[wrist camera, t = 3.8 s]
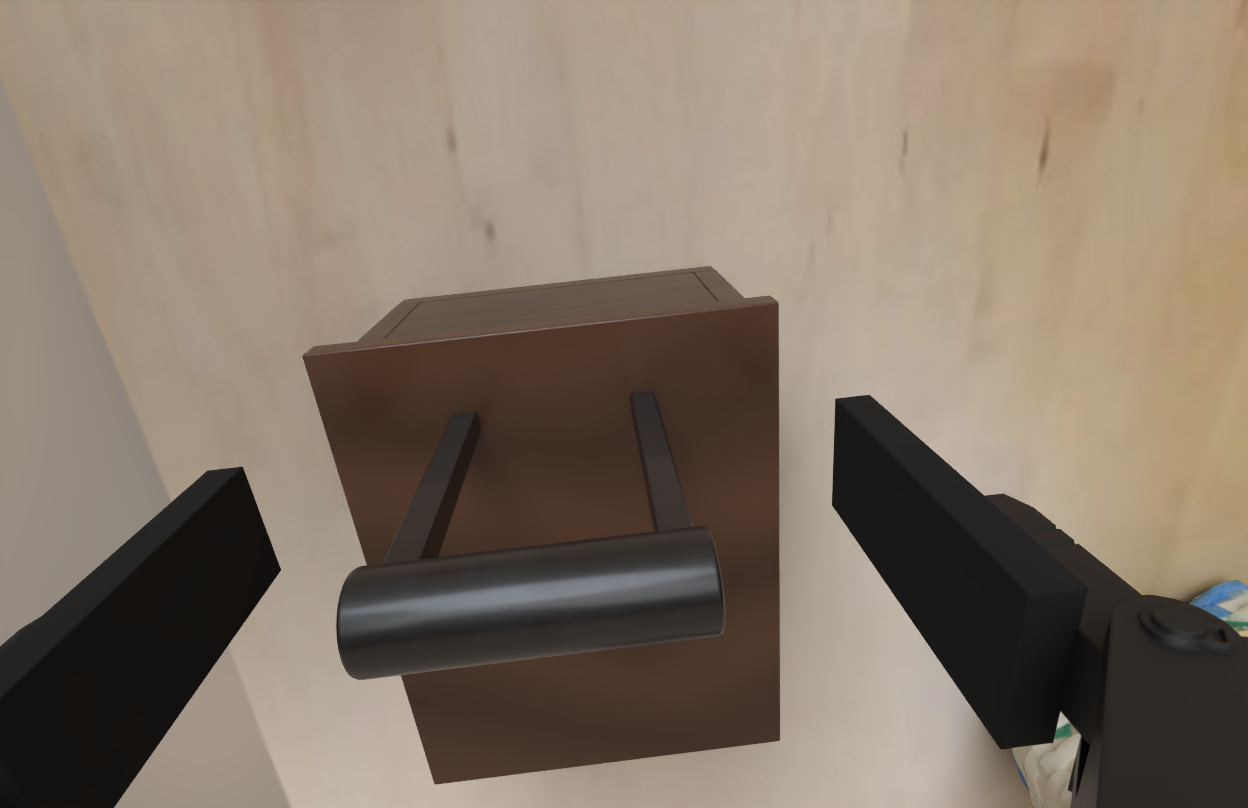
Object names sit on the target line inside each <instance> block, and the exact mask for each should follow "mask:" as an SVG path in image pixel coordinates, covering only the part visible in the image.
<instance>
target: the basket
mask: <svg viewBox="0 0 1248 808" xmlns="http://www.w3.org/2000/svg"><path fill="white" fill-rule="evenodd" d="M1189 604H1191V605H1194V606H1197V607H1199V608H1202V609H1203V610H1205V611H1207V612H1209V613H1211V614H1213V615H1214V616H1216V617H1218V618H1220V619H1222V620H1223V621H1225V622H1226V623H1227V624H1228V625H1229V626H1230V627H1232V628H1233V629H1234V630H1235V631H1236V632H1237V633H1239V634H1240V636H1244V637H1248V587H1247V586H1246V585H1245V584H1243V583H1242V582H1240V581H1237V580H1234V581H1226V582H1223V583H1220V584H1218V585H1215V586H1213V587H1212V588H1210V589H1208V590H1207V591H1205V592H1204V593H1202V594H1201V595H1198V596H1196V597H1194V598H1193V600H1192V601H1191V602H1190V603H1189ZM1080 737H1081V735H1080V734H1079V732H1078V731H1077V730H1076V729H1075V728H1074V726H1073V725H1072V724H1071V723H1070V722H1069V721H1068V719H1067V718H1066V717H1065V716H1064V715H1063V713H1062V712H1061V711H1060V715H1059V719H1058V724H1057V728H1056V733H1055V737H1054V742H1053V743H1048V744H1040V745H1032V746H1025V747H1017V748H1012V750H1013V754H1014V760H1015V763H1016V766H1017V768H1018V771H1019V774H1020V776H1021V779H1022V781H1023V783H1024V785H1025V786H1026V787H1027V789H1028V790H1029V791H1030V794H1031V803H1032V806H1033V808H1070V807H1071V798H1072V792H1070V791H1068V790H1067V789H1068V785H1069V781H1070V777H1071V773H1072V769H1073V765H1074V761H1075V757H1076V753H1077V749H1078V745H1079V741H1080Z"/></svg>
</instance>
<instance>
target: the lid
mask: <svg viewBox="0 0 1248 808" xmlns="http://www.w3.org/2000/svg"><path fill="white" fill-rule="evenodd" d="M303 360H304V363H305V366H306V370H307V373H308V376H309V379H310V382H311V386H312V389H313V392H314V395H315V399H316V402H317V405H318V408H319V412H320V415H321V418H322V421H323V425H324V428H325V431H326V434H327V438H328V441H329V444H330V447H331V450H332V454H333V457H334V460H335V463H336V467H337V470H338V473H339V476H340V480H341V483H342V486H343V489H344V493H345V496H346V499H347V502H348V505H349V509H350V512H351V515H352V518H353V522H354V525H355V528H356V531H357V535H358V538H359V541H360V544H361V548H362V551H363V554H364V557H365V560H366V564H367V566H360V567H358V568H356V569H354V570H353V571H352V572H351V573H350V574H349V575H348V577H347V578H346V580H345V582H344V585H343V587H342V590H341V594H340V598H339V603H338V609H337V624H336V628H337V643H338V649H339V654H340V658H341V661H342V664H343V666H344V668H345V670H346V672H347V673H348V674H349V675H350V676H351V677H353V678H355V679H358V680H366V679H374V678H382V677H390V676H398V675H401V677H402V680H403V683H404V687H405V690H406V693H407V696H408V700H409V703H410V706H411V709H412V713H413V716H414V719H415V722H416V725H417V729H418V732H419V735H420V738H421V742H422V745H423V748H424V751H425V755H426V758H427V761H428V764H429V768H430V771H431V774H432V777H433V780H434V784H443V783H451V782H459V781H467V780H475V779H483V778H490V777H498V776H506V775H514V774H522V773H530V772H538V771H546V770H554V769H561V768H569V767H577V766H585V765H593V764H601V763H609V762H617V761H625V760H633V759H640V758H648V757H656V756H664V755H672V754H680V753H688V752H696V751H704V750H711V749H719V748H727V747H735V746H743V745H751V744H759V743H767V742H775V741H780V594H779V303H778V302H777V301H776V300H775V299H774V298H773V297H771V296H762V297H753V298H744V299H735V300H726V301H717V302H709V303H700V304H691V305H682V306H673V307H664V308H655V309H646V310H637V311H628V312H619V313H610V314H601V315H592V316H583V317H574V318H565V319H556V320H547V321H539V322H530V323H521V324H512V325H503V326H494V327H485V328H476V329H467V330H458V331H449V332H440V333H431V334H422V335H413V336H404V337H395V338H386V339H377V340H369V341H360V342H351V343H342V344H333V345H324V346H315V347H313V348H311V349H310V350H309V351H307V352H306V353H305V354H304V355H303Z"/></svg>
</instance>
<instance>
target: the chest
mask: <svg viewBox="0 0 1248 808" xmlns="http://www.w3.org/2000/svg"><path fill="white" fill-rule="evenodd" d="M735 299H744V297H743V296H742V295H741V294H740V293H739V292H738V291H737V290H736V289H735V288H734V287H732V286H731V285H730V284H729V283H728V282H727V281H726V280H725V279H724V278H723V277H722V276H721V275H720V274H719V273H718V272H717V271H716V270H714V269H713V268H712V267H711V266H707V267H698V268H689V269H680V270H671V271H662V272H653V273H644V274H635V275H626V276H617V277H608V278H599V279H590V280H581V281H572V282H563V283H554V284H545V285H535V286H526V287H517V288H508V289H499V290H490V291H481V292H472V293H463V294H454V295H445V296H436V297H427V298H418V299H409V300H404V301H402V302H401V303H400V304H399V305H397V306H396V307H395V308H394V309H393V310H392V311H391V312H389V313H388V314H387V315H386V316H385V317H384V318H383V319H382V320H381V321H379V322H378V323H377V324H376V325H375V326H374V327H373V328H372V329H371V330H370V331H368V332H367V333H366V334H365V335H364V336H363V337H362V338H361V339H360V340H358V341H357V342H360V341H369V340H377V339H386V338H395V337H404V336H413V335H422V334H431V333H440V332H449V331H458V330H467V329H476V328H485V327H494V326H503V325H512V324H521V323H530V322H539V321H547V320H556V319H565V318H574V317H583V316H592V315H601V314H610V313H619V312H628V311H637V310H646V309H655V308H664V307H673V306H682V305H691V304H700V303H709V302H717V301H726V300H735Z"/></svg>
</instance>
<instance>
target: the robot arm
mask: <svg viewBox="0 0 1248 808" xmlns="http://www.w3.org/2000/svg"><path fill="white" fill-rule="evenodd" d="M832 506H833V507H834V509H835V510H836V511H837V513H838V514H839V516H840V517H841V519H842V520H843V522H844V523H845V525H846V526H847V527H848V529H849V530H850V532H851V533H852V535H853V536H854V538H855V539H856V540H857V542H858V543H859V545H860V546H861V548H862V549H863V551H864V552H865V554H866V555H867V556H868V558H869V559H870V561H871V562H872V564H873V565H874V567H875V568H876V569H877V571H878V572H879V574H880V575H881V577H882V578H883V580H884V581H885V583H886V584H887V585H888V587H889V588H890V590H891V591H892V593H893V594H894V596H895V597H896V599H897V600H898V601H899V603H900V604H901V606H902V607H903V609H904V610H905V612H906V613H907V614H908V616H909V617H910V619H911V620H912V622H913V623H914V625H915V626H916V628H917V629H918V630H919V632H920V633H921V635H922V636H923V638H924V639H925V641H926V642H927V643H928V645H929V646H930V648H931V649H932V651H933V652H934V654H935V655H936V657H937V658H938V659H939V661H940V662H941V664H942V665H943V667H944V668H945V670H946V671H947V672H948V674H949V675H950V677H951V678H952V680H953V681H954V683H955V684H956V686H957V687H958V688H959V690H960V691H961V693H962V694H963V696H964V697H965V699H966V700H967V701H968V703H969V704H970V706H971V707H972V709H973V710H974V712H975V713H976V715H977V716H978V717H979V719H980V720H981V722H982V723H983V725H984V726H985V728H986V729H987V730H988V732H989V733H990V735H991V736H992V738H993V739H994V741H995V742H996V744H997V745H998V746H999V748H1000V749H1009V748H1017V747H1025V746H1032V745H1040V744H1048V743H1053V742H1054V737H1055V733H1056V728H1057V724H1058V719H1059V715H1060V711H1061V712H1062V713H1063V715H1064V716H1065V717H1066V718H1067V719H1068V721H1069V722H1070V723H1071V724H1072V725H1073V726H1074V728H1075V729H1076V730H1077V731H1078V732H1079V734H1080V735H1081V737H1080V741H1079V745H1078V749H1077V753H1076V757H1075V761H1074V765H1073V769H1072V773H1071V777H1070V781H1069V785H1068V789H1067V790H1068V791H1070V792H1072V798H1071V807H1070V808H1248V637H1244V636H1240V634H1239V633H1237V632H1236V631H1235V630H1234V629H1233V628H1232V627H1230V626H1229V625H1228V624H1227V623H1226V622H1225V621H1223V620H1222V619H1220V618H1218V617H1216V616H1214V615H1213V614H1211V613H1209V612H1207V611H1205V610H1203V609H1202V608H1199V607H1197V606H1194V605H1191V604H1188V603H1185V602H1182V601H1179V600H1176V599H1172V598H1166V597H1160V596H1154V595H1141V594H1140V593H1139V592H1137V591H1136V590H1135V589H1134V588H1132V587H1131V586H1130V585H1129V584H1127V583H1126V582H1125V581H1124V580H1123V579H1121V578H1120V577H1119V576H1118V575H1116V574H1115V573H1114V572H1113V571H1111V570H1110V569H1109V568H1108V567H1106V566H1105V565H1104V564H1103V563H1101V562H1100V561H1099V560H1098V559H1097V558H1095V557H1094V556H1093V555H1092V554H1090V553H1089V552H1088V551H1087V550H1085V549H1084V548H1083V547H1082V546H1080V545H1079V544H1075V543H1074V540H1073V539H1072V538H1071V537H1069V536H1068V535H1067V534H1066V533H1064V532H1063V531H1062V530H1061V529H1056V525H1055V524H1053V523H1052V522H1051V521H1050V520H1048V519H1047V518H1046V517H1045V516H1043V515H1042V514H1041V513H1040V512H1038V511H1037V510H1036V509H1035V508H1033V507H1031V506H1029V505H1027V504H1025V503H1023V502H1020V501H1018V500H1016V499H1014V498H1012V497H1010V496H1007V495H1005V494H996V495H987V496H984V495H983V494H982V493H981V492H979V491H978V490H977V489H976V488H975V487H974V486H973V485H971V484H970V483H969V482H968V481H967V480H966V479H965V478H964V477H962V476H961V475H960V474H959V473H958V472H957V471H956V470H954V469H953V468H952V467H951V466H950V465H949V464H948V463H946V462H945V461H944V460H943V459H942V458H941V457H940V456H938V455H937V454H936V453H935V452H934V451H933V450H932V449H930V448H929V447H928V446H927V445H926V444H925V443H924V442H923V441H921V440H920V439H919V438H918V437H917V436H916V435H915V434H913V433H912V432H911V431H910V430H909V429H908V428H907V427H905V426H904V425H903V424H902V423H901V422H900V421H899V420H897V419H896V418H895V417H894V416H893V415H892V414H891V413H890V412H888V411H887V410H886V409H885V408H884V407H883V406H882V405H880V404H879V403H878V402H877V401H876V400H875V399H874V398H872V397H871V396H870V395H864V396H856V397H847V398H838V399H836V401H835V431H834V462H833V492H832ZM280 571H281V568H280V566H279V563H278V560H277V558H276V555H275V552H274V550H273V547H272V544H271V542H270V539H269V536H268V534H267V531H266V528H265V525H264V523H263V520H262V517H261V515H260V512H259V509H258V507H257V504H256V501H255V499H254V496H253V493H252V490H251V488H250V485H249V482H248V480H247V477H246V474H245V472H244V469H243V467H236V468H228V469H219V470H210V471H207V472H205V473H204V474H203V475H202V476H201V477H200V478H199V479H198V480H196V481H195V482H194V483H193V484H192V485H191V486H190V487H188V488H187V489H186V490H185V491H184V492H183V493H182V494H180V495H179V496H178V497H177V498H176V499H175V500H174V501H172V502H171V503H170V504H169V505H168V506H167V507H166V508H164V509H163V510H162V511H161V512H160V513H159V514H158V515H157V516H155V517H154V518H153V519H152V520H151V521H150V522H149V523H147V524H146V525H145V526H144V527H143V528H142V529H141V530H139V531H138V532H137V533H136V534H135V535H134V536H133V537H131V538H130V539H129V540H128V541H127V542H126V543H125V544H123V546H121V547H120V548H119V549H118V550H117V551H116V552H114V553H113V554H112V555H111V556H110V557H109V558H108V559H107V560H105V561H104V562H103V563H102V564H101V565H100V566H98V567H97V568H96V569H95V570H94V571H93V572H92V573H90V574H89V575H88V576H87V577H86V578H85V579H84V580H82V581H81V582H80V583H79V584H78V585H77V586H76V587H74V588H73V589H72V590H71V591H70V592H69V593H68V594H66V595H65V596H64V597H63V598H62V599H61V600H60V601H59V602H57V603H56V604H55V605H54V606H53V607H52V608H51V609H49V610H48V611H47V612H46V613H45V614H44V615H43V616H41V617H40V618H38V619H37V620H35V621H33V622H32V623H30V624H28V625H27V626H25V627H23V628H22V629H20V630H19V631H18V632H16V633H15V634H14V635H13V636H12V637H11V638H10V639H8V640H7V641H6V642H5V643H4V644H3V645H2V646H0V808H114V807H115V805H116V804H117V802H118V801H119V800H120V798H121V797H122V795H123V794H124V793H125V791H126V790H127V788H128V787H129V786H130V783H132V781H133V780H134V778H135V777H136V776H137V774H138V773H139V771H140V770H141V768H142V767H143V765H144V764H145V762H146V761H147V760H148V759H149V757H150V756H151V754H152V753H153V751H154V750H155V748H156V747H157V746H158V744H159V743H160V741H161V740H162V739H163V737H164V736H165V734H166V733H167V731H168V730H169V729H170V727H171V726H172V724H173V723H174V722H175V720H176V719H177V717H178V716H179V714H180V713H181V711H182V710H183V709H184V707H185V706H186V704H187V703H188V702H189V700H190V699H191V697H192V696H193V695H194V693H195V692H196V690H197V689H198V687H199V686H200V685H201V683H202V682H203V680H204V679H205V677H206V676H207V675H208V673H209V672H210V670H211V669H212V667H213V666H214V664H215V663H216V662H217V660H218V659H219V658H220V656H221V655H222V653H223V652H224V650H225V649H226V648H227V646H228V645H229V643H230V642H231V640H232V639H233V638H234V636H235V635H236V633H237V632H238V631H239V629H240V628H241V626H242V625H243V623H244V622H245V621H246V619H247V618H248V616H249V615H250V613H251V612H252V611H253V609H254V608H255V606H256V605H257V603H258V602H259V601H260V599H261V598H262V596H263V595H264V594H265V592H266V591H267V589H268V588H269V586H270V585H271V584H272V582H273V581H274V579H275V578H276V576H277V575H278V574H279V572H280Z"/></svg>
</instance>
